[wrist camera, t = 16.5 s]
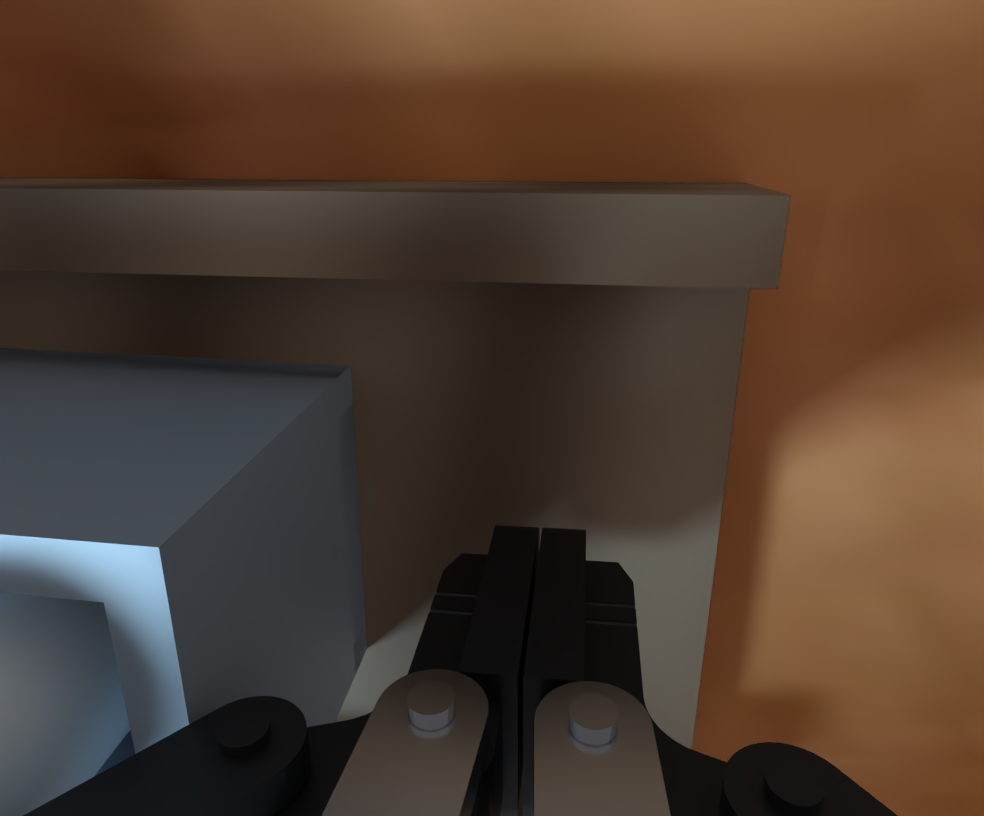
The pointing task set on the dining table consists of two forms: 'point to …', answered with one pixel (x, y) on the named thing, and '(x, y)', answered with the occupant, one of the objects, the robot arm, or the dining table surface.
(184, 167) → the dining table surface
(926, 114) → the dining table surface
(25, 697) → the caddy
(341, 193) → the shelf
